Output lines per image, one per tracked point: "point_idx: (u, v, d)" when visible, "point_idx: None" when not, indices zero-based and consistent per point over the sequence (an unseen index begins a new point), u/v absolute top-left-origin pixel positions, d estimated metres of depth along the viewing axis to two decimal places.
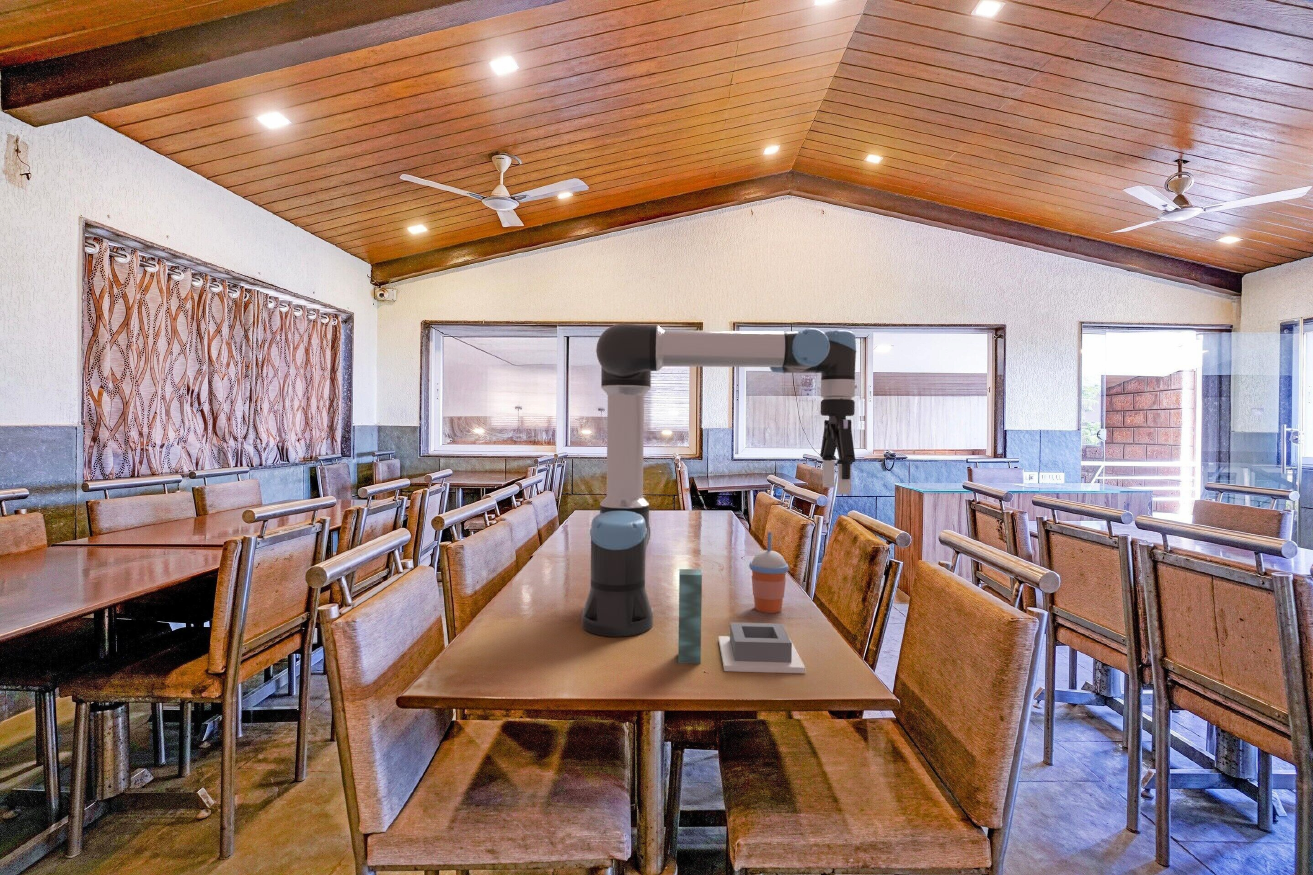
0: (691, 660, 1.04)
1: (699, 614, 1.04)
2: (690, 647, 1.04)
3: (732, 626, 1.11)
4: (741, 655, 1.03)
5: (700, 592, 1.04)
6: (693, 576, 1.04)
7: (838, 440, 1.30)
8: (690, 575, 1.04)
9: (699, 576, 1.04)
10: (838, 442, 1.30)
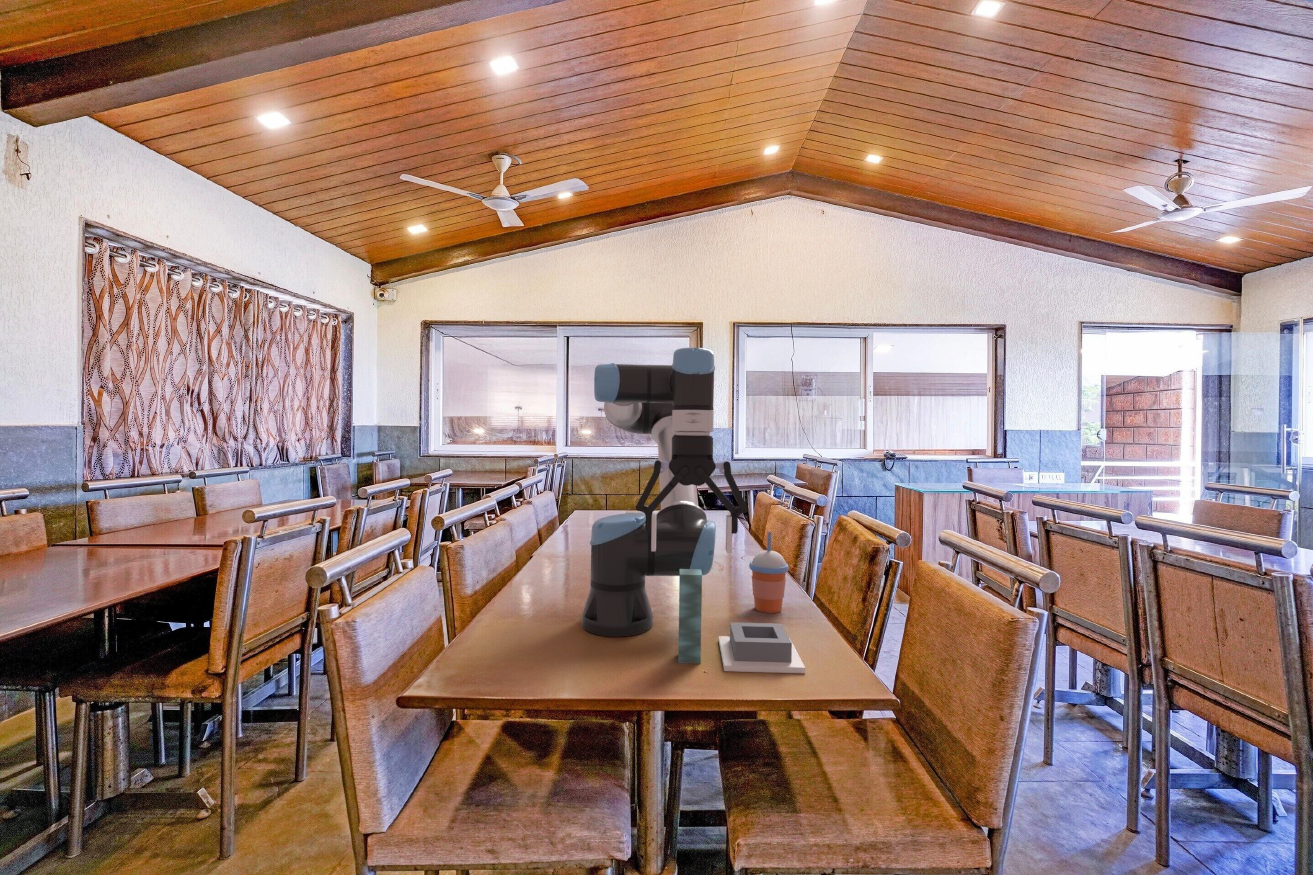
0: (691, 660, 1.04)
1: (699, 614, 1.04)
2: (691, 647, 1.04)
3: (732, 626, 1.11)
4: (741, 655, 1.03)
5: (700, 592, 1.04)
6: (693, 576, 1.04)
7: (665, 485, 1.07)
8: (690, 575, 1.04)
9: (699, 576, 1.04)
10: (664, 487, 1.07)
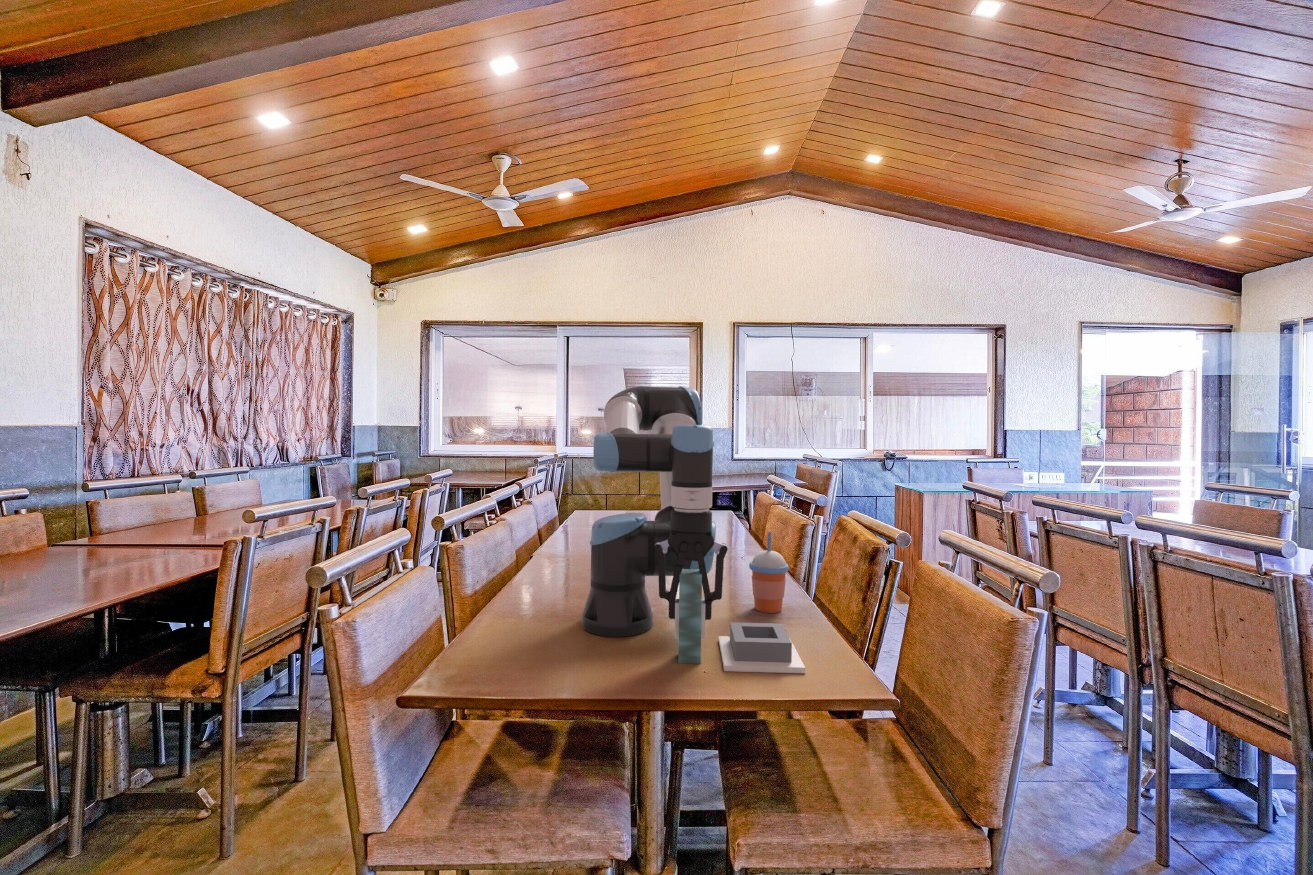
0: (691, 660, 1.04)
1: (699, 614, 1.04)
2: (691, 647, 1.04)
3: (732, 626, 1.11)
4: (741, 655, 1.03)
5: (700, 592, 1.04)
6: (693, 576, 1.04)
7: (675, 566, 1.07)
8: (690, 575, 1.04)
9: (699, 576, 1.04)
10: (674, 569, 1.07)
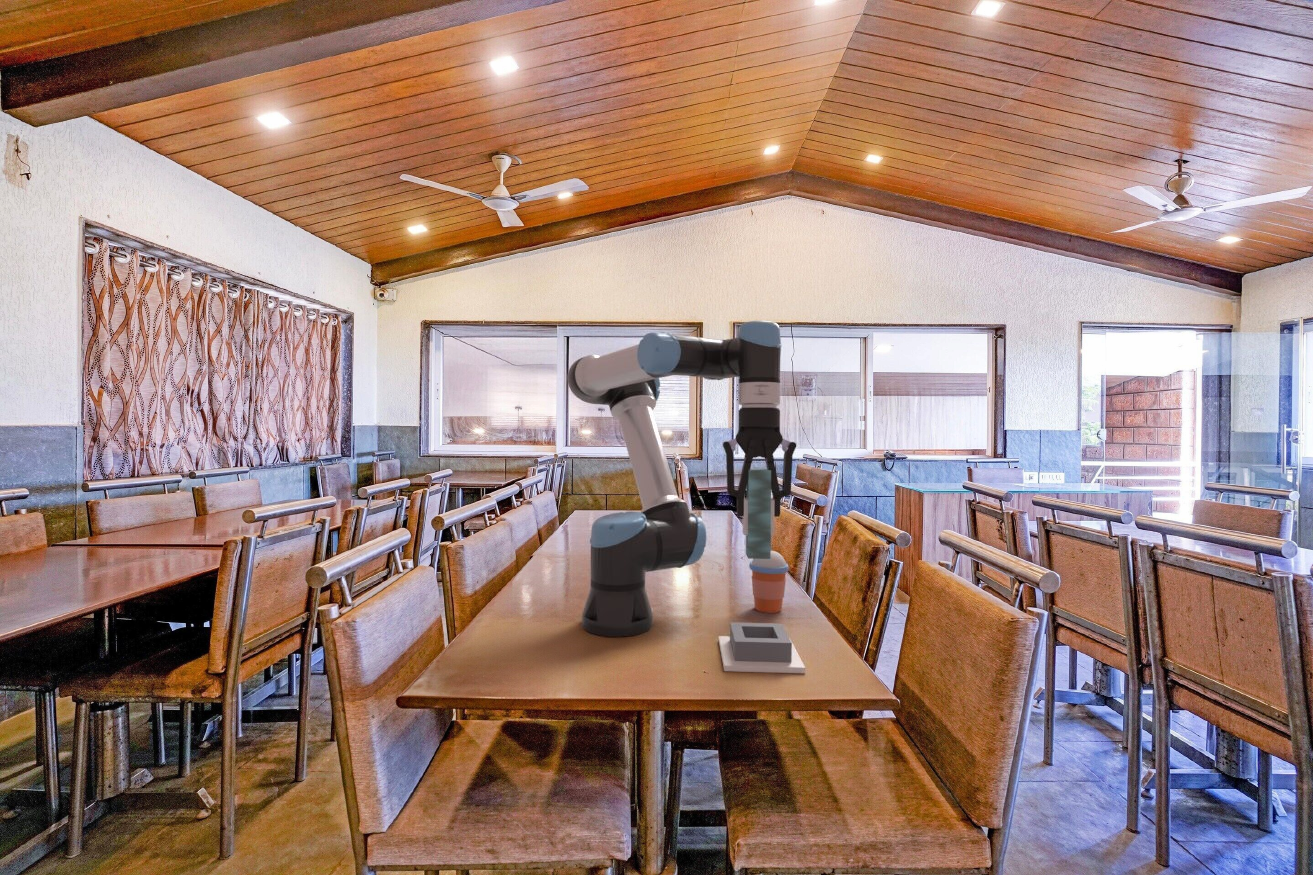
0: (761, 556, 1.05)
1: (768, 509, 1.05)
2: (760, 543, 1.05)
3: (732, 626, 1.11)
4: (741, 655, 1.03)
5: (769, 487, 1.05)
6: (762, 471, 1.05)
7: None
8: (759, 471, 1.05)
9: (768, 471, 1.05)
10: (742, 468, 1.08)
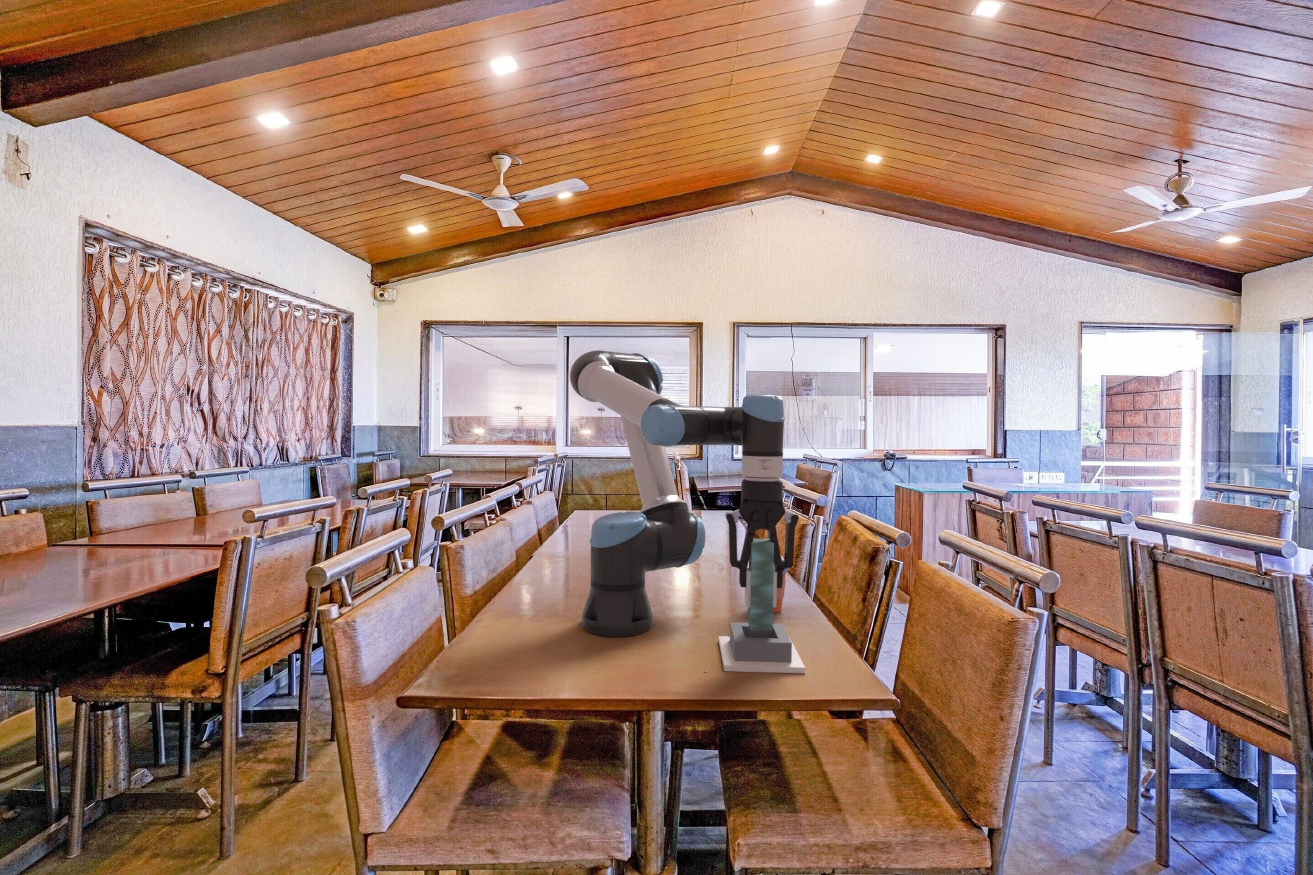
0: (763, 627, 1.06)
1: (771, 582, 1.06)
2: (763, 615, 1.06)
3: (732, 626, 1.11)
4: (741, 655, 1.03)
5: (772, 560, 1.05)
6: (765, 544, 1.05)
7: (745, 536, 1.09)
8: (762, 543, 1.06)
9: (771, 544, 1.05)
10: (745, 538, 1.09)
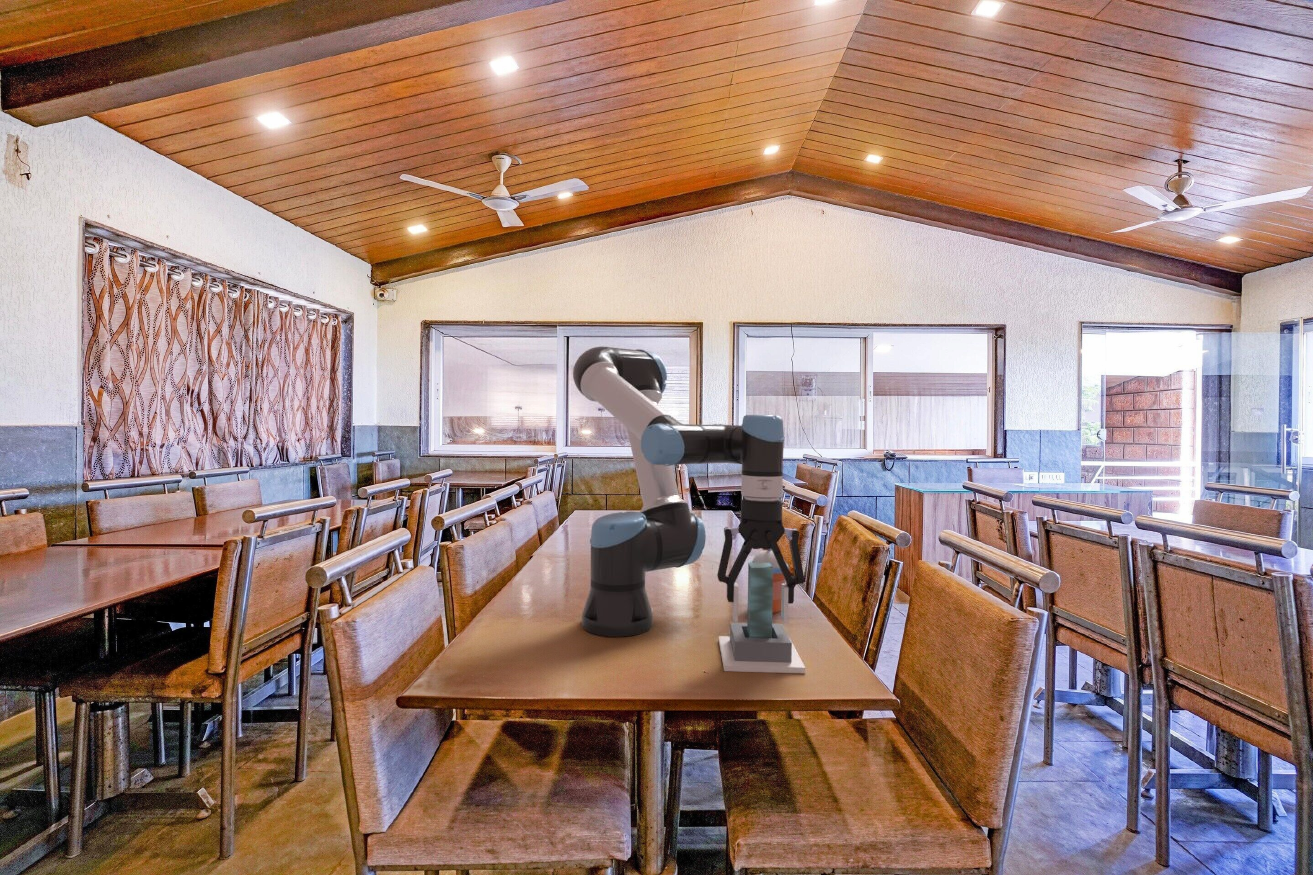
0: None
1: (770, 607, 1.06)
2: None
3: (732, 626, 1.11)
4: (741, 655, 1.03)
5: (771, 585, 1.06)
6: (764, 569, 1.06)
7: (739, 552, 1.09)
8: (761, 568, 1.06)
9: (770, 569, 1.06)
10: (738, 554, 1.09)
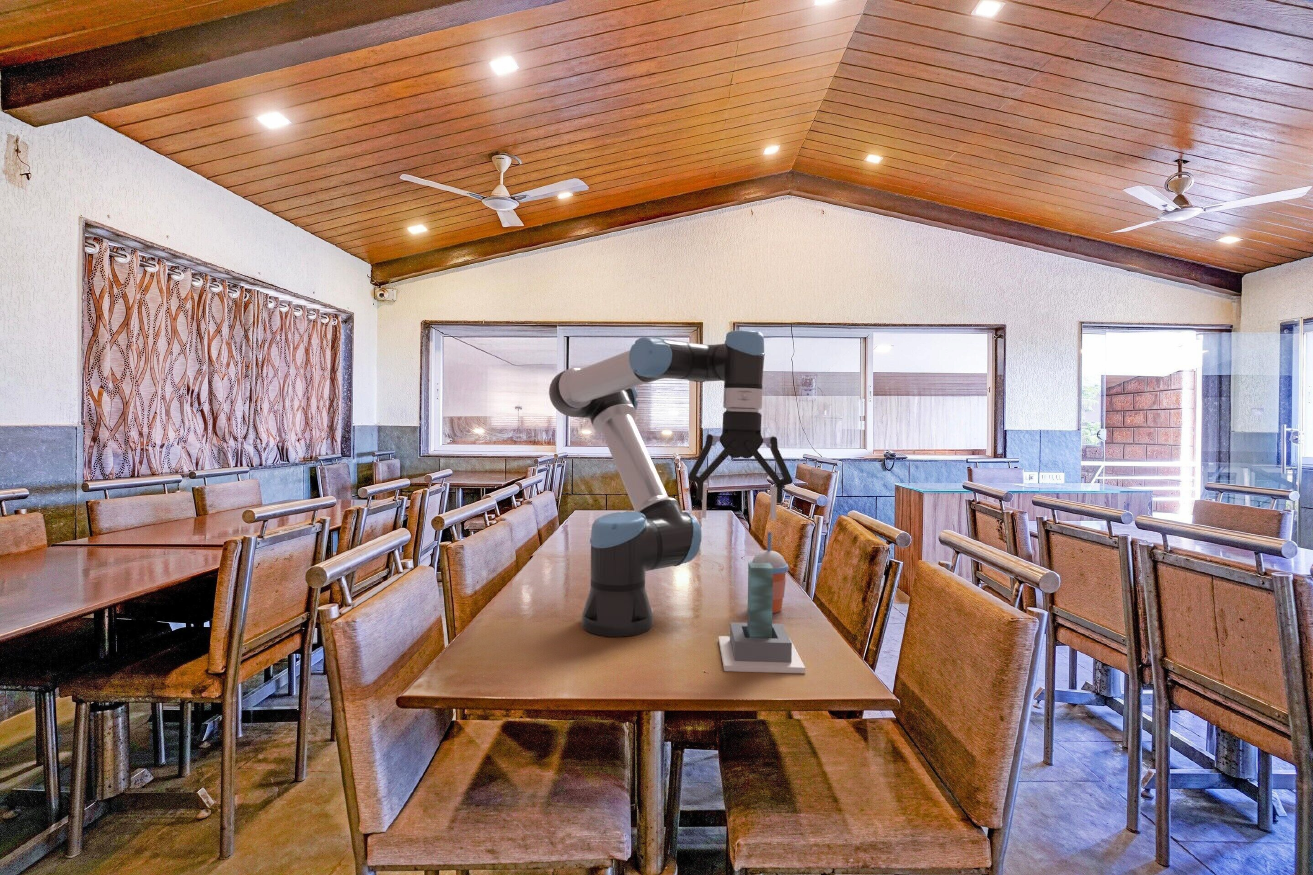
0: None
1: (770, 607, 1.06)
2: None
3: (732, 626, 1.11)
4: (741, 655, 1.03)
5: (771, 585, 1.06)
6: (764, 569, 1.06)
7: None
8: (761, 568, 1.06)
9: (770, 569, 1.06)
10: None
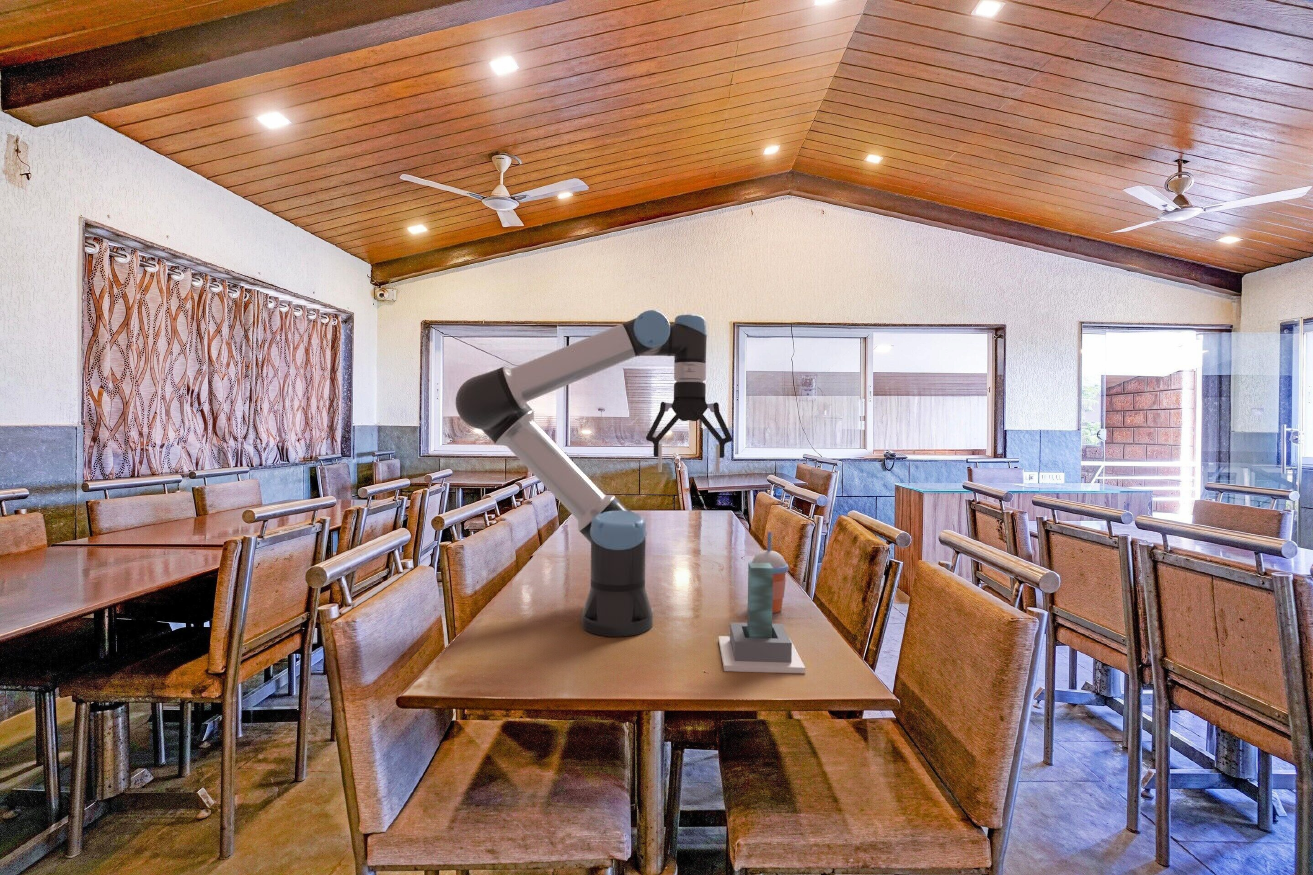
0: None
1: (770, 607, 1.06)
2: None
3: (732, 626, 1.11)
4: (741, 655, 1.03)
5: (771, 585, 1.06)
6: (764, 569, 1.06)
7: None
8: (761, 568, 1.06)
9: (770, 569, 1.06)
10: None
